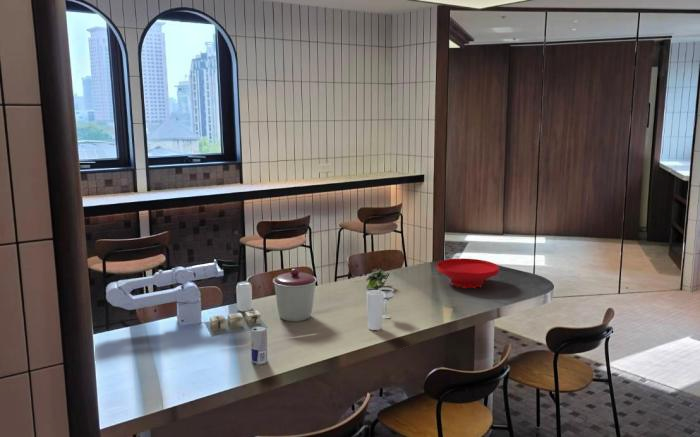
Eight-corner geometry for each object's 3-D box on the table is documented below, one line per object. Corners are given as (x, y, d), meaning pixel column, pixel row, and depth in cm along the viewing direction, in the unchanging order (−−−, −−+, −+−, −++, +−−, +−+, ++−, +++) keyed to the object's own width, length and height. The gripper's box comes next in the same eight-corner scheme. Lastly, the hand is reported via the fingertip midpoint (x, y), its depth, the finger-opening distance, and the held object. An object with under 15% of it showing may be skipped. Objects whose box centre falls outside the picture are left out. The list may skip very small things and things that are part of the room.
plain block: (230, 328, 221) (230, 318, 221) (228, 323, 226) (227, 314, 225) (243, 326, 223) (243, 316, 223) (240, 322, 228) (240, 312, 227)
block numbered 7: (248, 325, 224) (248, 315, 223) (245, 321, 229) (245, 311, 228) (260, 323, 226) (260, 314, 225) (257, 319, 231) (257, 310, 230)
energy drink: (252, 358, 195) (251, 325, 193) (267, 358, 195) (267, 325, 193) (250, 365, 189) (250, 331, 187) (266, 365, 190) (266, 331, 188)
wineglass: (395, 315, 238) (396, 288, 236) (389, 320, 232) (390, 293, 230) (380, 313, 241) (381, 286, 239) (374, 318, 235) (375, 290, 232)
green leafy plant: (375, 295, 281) (384, 274, 285) (388, 297, 272) (397, 275, 276) (358, 286, 276) (368, 264, 280) (371, 287, 267) (381, 265, 271)
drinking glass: (385, 326, 225) (385, 290, 223) (380, 332, 219) (381, 295, 216) (368, 324, 227) (369, 289, 225) (363, 330, 221) (364, 293, 218)
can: (248, 312, 240) (248, 285, 238) (234, 311, 241) (233, 284, 239) (254, 307, 246) (253, 281, 244) (240, 306, 248) (239, 280, 246)
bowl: (504, 293, 269) (505, 273, 267) (440, 293, 269) (441, 273, 267) (489, 276, 299) (490, 257, 297) (432, 275, 299) (433, 257, 297)
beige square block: (212, 330, 218) (212, 320, 218) (210, 326, 223) (210, 316, 222) (225, 328, 220) (225, 318, 220) (223, 324, 225) (222, 314, 224)
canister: (293, 307, 247) (292, 261, 243) (325, 316, 237) (325, 267, 233) (264, 319, 233) (263, 270, 229) (297, 329, 222) (297, 277, 219)
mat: (211, 337, 213) (211, 336, 213) (204, 323, 227) (204, 322, 227) (268, 329, 222) (268, 327, 222) (257, 316, 236) (257, 314, 236)
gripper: (206, 266, 220) (240, 260, 226) (200, 257, 234) (232, 252, 239) (208, 283, 222) (242, 277, 227) (202, 274, 235) (234, 268, 240)
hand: (237, 265), depth 233 cm, fingers open, 7 cm apart
